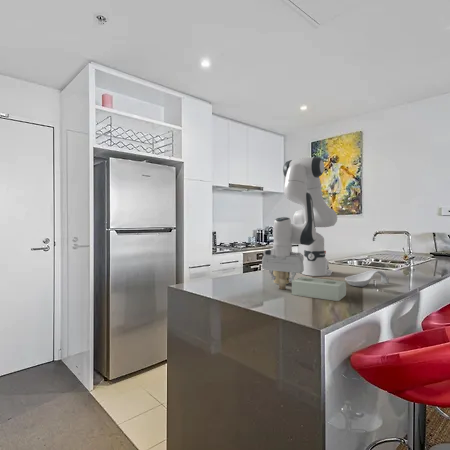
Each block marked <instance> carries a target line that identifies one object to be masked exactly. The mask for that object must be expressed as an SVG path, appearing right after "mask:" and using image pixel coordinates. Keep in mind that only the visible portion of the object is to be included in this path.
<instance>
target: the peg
mask: <svg viewBox="0 0 450 450" xmlns="http://www.w3.org/2000/svg"><path fill="white" fill-rule="evenodd" d="M286 286H287V284H286V272H283V271H279V284H278V287H279V288H278V289H279V290H282V291H283V290H286V289H287V287H286Z"/></svg>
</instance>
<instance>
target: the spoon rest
mask: <svg viewBox="0 0 450 450" xmlns="http://www.w3.org/2000/svg"><path fill="white" fill-rule="evenodd" d="M376 274H379V275H380V282H381V283H382V284H383V283H384V284H389V283H390V281H389V278H388V275H387V274H386V273H385V272H384V271H382V270H377V269H371V270H367V271H364V272H361V273H357V274H354V275H349V276H345V278H344V281H346V284H348V285H349V286H353V287H361V288H362V287H366V286H367V285H368V284H369V283H370V282H371V280H372V279H373V277H374V276H375V275H376Z"/></svg>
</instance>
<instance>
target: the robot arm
mask: <svg viewBox="0 0 450 450" xmlns="http://www.w3.org/2000/svg"><path fill="white" fill-rule="evenodd" d="M324 170H325V163H324V160H323V159H322V158H321V157H318V156H314V157H302V158H297V159H291V160H287V161H285V163H284V164H283V167H282V171H283V175H284V185H283V194H284V196H285V198H286V199H288V200H289V201H291V202H292V203H295V204H298V205H300V206H302V208H301V209H298V210H296V211H295V212H294V214H293V216H292V221H293V223H294V224H293V223H292V221H291V218H290V217H286V216H283V217H277V218H275V219H274V221H273V227H272V228H273V229H272V238H273V243H272V247H270V248H269V249H265V250H263V252H262V253H263V256H262V259H261V268H262V270H263V271H268V273H269V274H270V276H271V277H270V278H271V281H274V280H275V279H276V278H275V277H276V276H274V274H273V272H274V271H283V272H290V273H291V277H289V283H292V281H293V280H295V279H294V278H295V277H296V276H297V274H302V275H304V276H311V277H312V276H313V277H325V276H328V277H329V276H332V274H333V270H332V269H329V261H328V259H327V257H326V253H327V251H326V250H325V238H324V236H323V235H322V234H321V233H318V232H317V231H316V228H329V227H334V226H335V224H336V223H337V222H338V215H337V212H336V211H335V210H334V209H333V208H331V207H330V206H329V205H328V204H327V203H326V202H325V199H324V198H323V197H324V196H323V192H322V187H321V186H322V185H321V180H320V178H321V176H322V175H323V173H324ZM292 245H303V246H304V251H303V253H301V252H295V251H294V252H293V251H292V250H293V246H292Z"/></svg>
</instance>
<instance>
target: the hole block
mask: <svg viewBox="0 0 450 450" xmlns="http://www.w3.org/2000/svg"><path fill="white" fill-rule="evenodd" d="M291 295H292V296H298V297H299V296H300V297H306V298H314V299H319V300H321V299H322V300H326V301H334V302H339V301H341V300H343V298H344V297H345V296H346V295H347V282H346V280H336V279H335V280H334V279H327V278H319V277H317V278H316V277H309V276H308V277H307V276H300V277H297V278H295V279H294V280H293V281H292V282H291Z"/></svg>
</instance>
